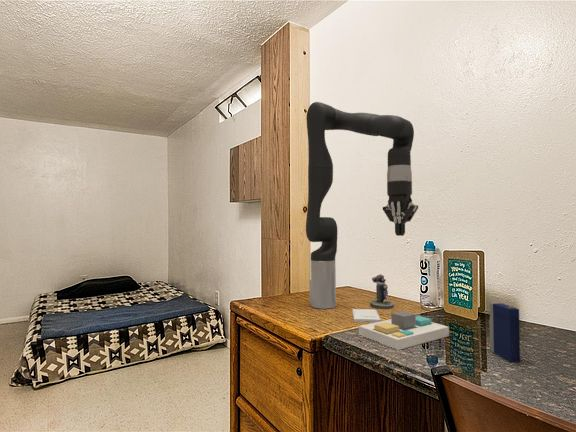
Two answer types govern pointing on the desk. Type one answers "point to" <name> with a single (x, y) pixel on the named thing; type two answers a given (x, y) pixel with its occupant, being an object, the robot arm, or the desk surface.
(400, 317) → the key charcoal
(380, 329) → the key ochre
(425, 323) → the key teal
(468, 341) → the desk surface
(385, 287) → the figurine
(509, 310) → the navy blue upright slab
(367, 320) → the external hard drive
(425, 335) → the keypad frame
